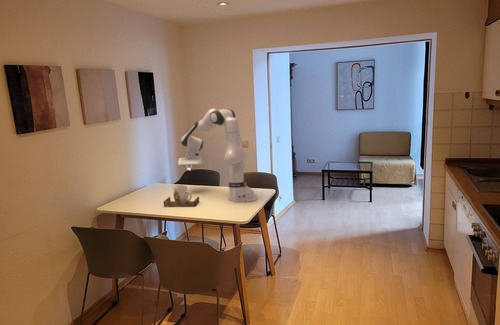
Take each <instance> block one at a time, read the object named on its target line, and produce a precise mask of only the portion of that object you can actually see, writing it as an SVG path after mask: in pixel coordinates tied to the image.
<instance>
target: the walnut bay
mask: <svg viewBox="0 0 500 325" xmlns="http://www.w3.org/2000/svg"><path fill="white" fill-rule="evenodd" d="M199 203H200V197H199V196H197V197H196V198H195V199H194V200H190V201H175V200H173V201H172V200H171V196H168V197H167V198H166V199H164V200H163V208H183V207H184V208H187V207H188V208H189V207H190V208H193V207H194V208H195V207H196V206H197V205H198V204H199Z"/></svg>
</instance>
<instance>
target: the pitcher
mask: <svg viewBox="0 0 500 325" xmlns="http://www.w3.org/2000/svg"><path fill="white" fill-rule="evenodd" d="M171 186H172V188H173V190H174V191H173V201H192V192H191V191H190V190H188V186H187V185H183V184H182V185H181V184H178V185H177V184H175V185H174V184H173V185H171Z"/></svg>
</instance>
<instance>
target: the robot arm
mask: <svg viewBox="0 0 500 325" xmlns="http://www.w3.org/2000/svg"><path fill="white" fill-rule="evenodd" d="M216 125H218V126H222V125H223V127H224V132H225V141H226V146H225V147H226V148H225V154H224V156H223V161H224V164H225V165H226V166H230V169H229V171H228V172H229V173H228V175H229V176H228V177H229V181H228V188H229V192H228V194H229V195H228V201H231V202H234V203H239V202H240V203H241V202H242V203H243V202H245V201H247V202H255V201H257V200H258V196H257V195H255V193H254V192H255V191H254V190H253V189H252V188H251V187H249V186H248V185H247V181H245V180H244V179H245V178H244V176H245V175H244V170H245V162H246V159H247V157H248V155H247V151H246V150H245V149H243V148H240V146H241V143H242V137H241V128H240V125H239V121H238V119H237V118H236V113H235V112H234V110H232V109H229V108H225V109H223V108H221V109H215V108H210V109H209V110H208V111H207V112H206V113H205V115H204V116H203V117H202V119H201V120H197V121H195V122H194V123H193V124H192V125H191V126H190V128H189V129H188V130H187V131H186V132H185V133H184V134H183V135H182V137H181V139H180V143H181V145H182V147H186V151H185V152H186V154H185V156H181V157H179V158H178V161H177V166H178V167H179V168H186V169H187V170H186V171H188V172H191V171H192V169H193V168H194V167H195V168H196V167H202V166H203V157H202V155H201V154H200V153H198V152H200V151H201V150H202V149H203V146H204V141H203V139H201V138H198V137H195V136H193V135H194V134H195V133H196V132H201V131H202V132H210V131H212V130H213V129H214V128H215V127H216ZM245 203H246V202H245Z"/></svg>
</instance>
